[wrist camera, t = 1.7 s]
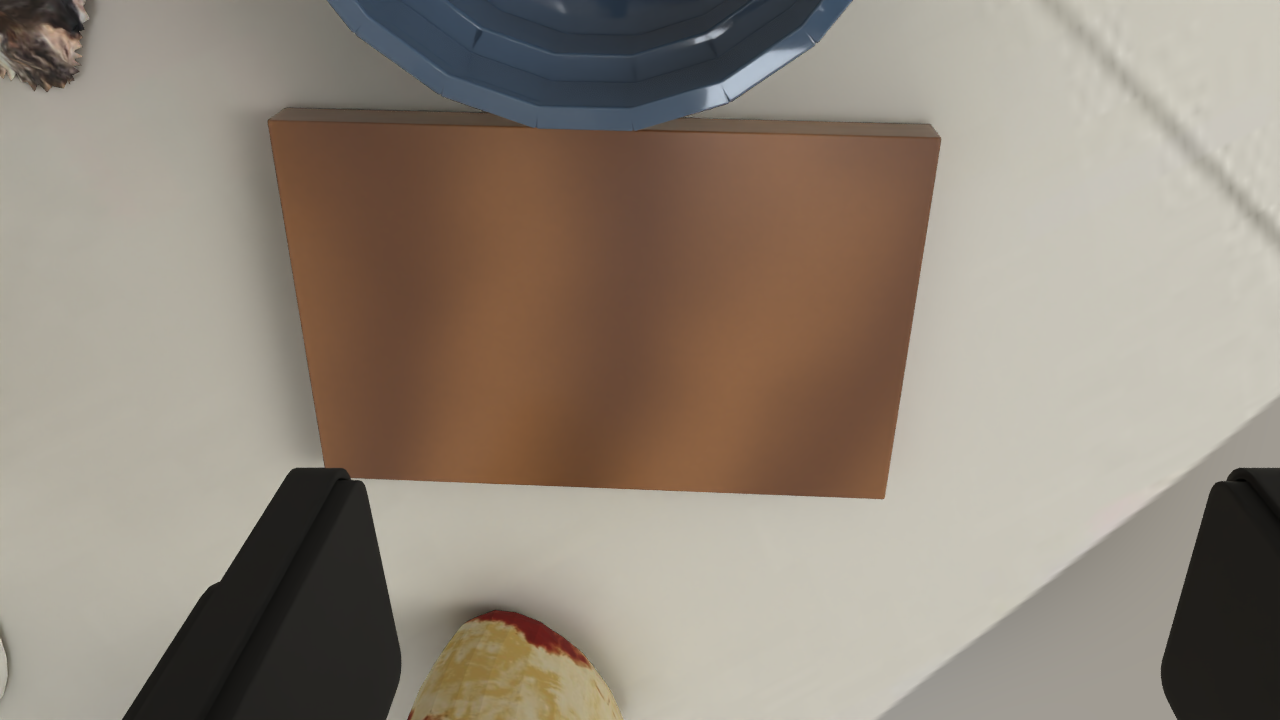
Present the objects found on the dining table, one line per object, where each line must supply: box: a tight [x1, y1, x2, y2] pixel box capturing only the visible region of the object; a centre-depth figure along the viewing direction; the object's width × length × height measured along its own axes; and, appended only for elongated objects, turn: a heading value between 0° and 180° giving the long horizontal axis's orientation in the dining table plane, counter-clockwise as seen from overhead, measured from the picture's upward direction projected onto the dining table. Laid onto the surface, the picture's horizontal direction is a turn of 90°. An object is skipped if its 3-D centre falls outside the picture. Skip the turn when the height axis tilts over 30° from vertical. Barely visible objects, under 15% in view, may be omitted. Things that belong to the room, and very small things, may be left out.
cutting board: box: [268, 108, 941, 499], centre depth 33 cm, size 20×13×2 cm, turn 89°
